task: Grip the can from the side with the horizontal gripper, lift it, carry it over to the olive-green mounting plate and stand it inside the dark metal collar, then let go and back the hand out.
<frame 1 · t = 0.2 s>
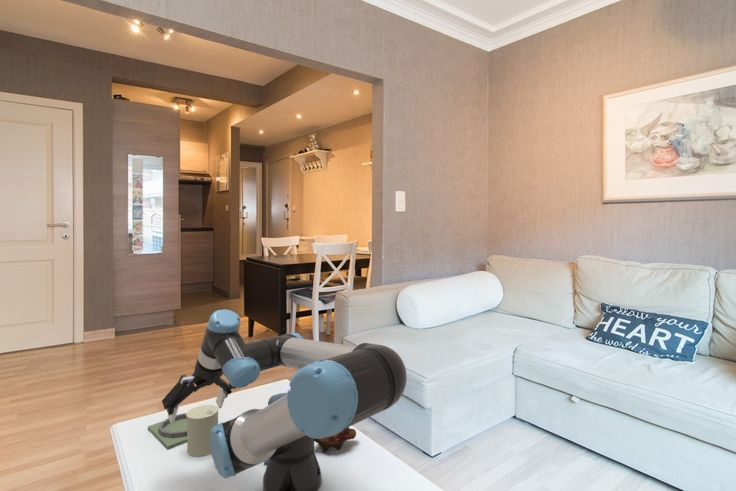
hand: (195, 412, 116), 15 cm above the table, tool tilted 35°, fingers open, 13 cm apart
decorative turtle: (332, 447, 124), on the table
can: (203, 448, 123), on the table
deck mount: (182, 429, 135), on the table
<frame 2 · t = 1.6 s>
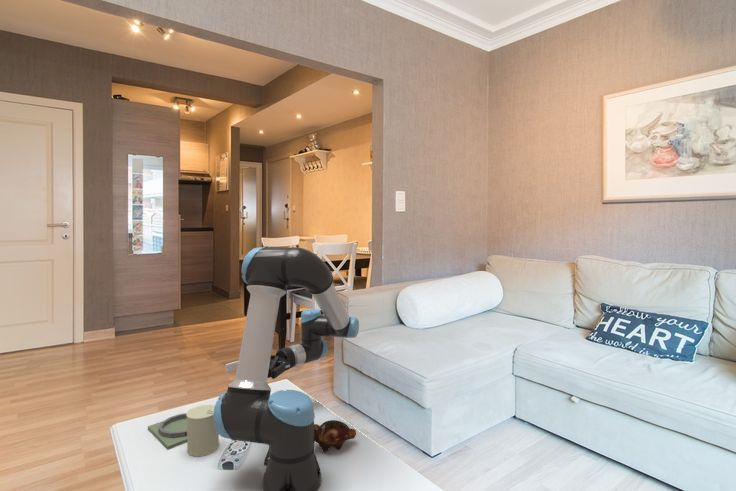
hand: (236, 373, 130), 20 cm above the table, tool horizontal, fingers open, 13 cm apart
nothing on the table moved.
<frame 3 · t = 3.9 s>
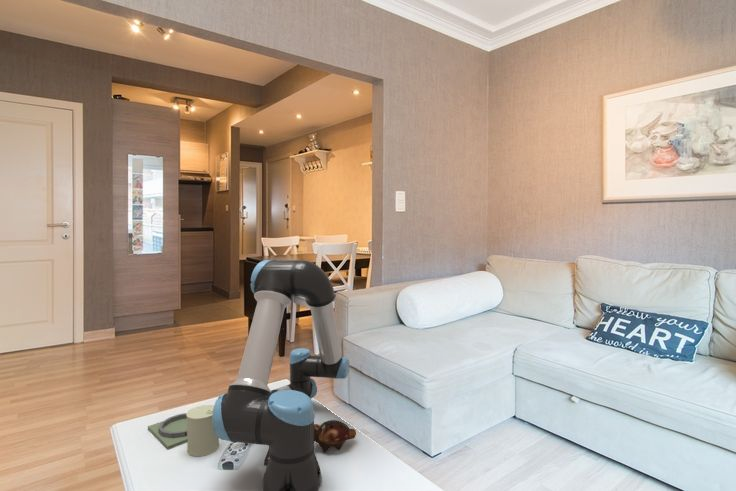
hand: (220, 420, 128), 6 cm above the table, tool horizontal, fingers open, 13 cm apart
nothing on the table moved.
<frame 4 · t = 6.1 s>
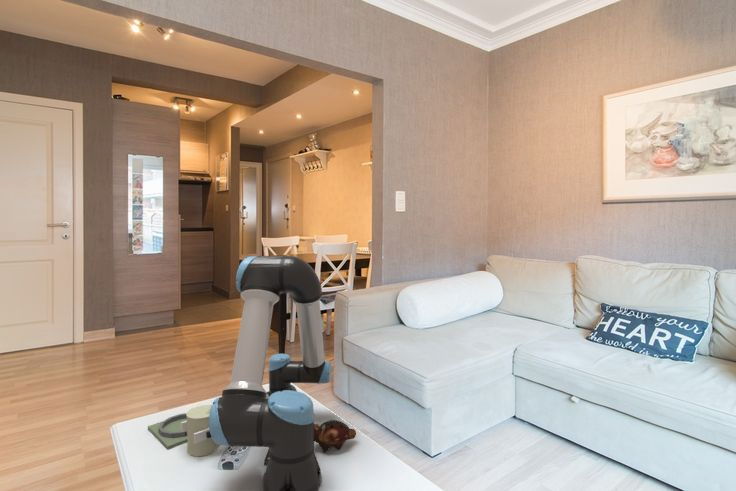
hand: (187, 432, 120), 7 cm above the table, tool horizontal, fingers closed on can, 9 cm apart
can: (203, 448, 123), on the table, touching gripper
everything else where it was.
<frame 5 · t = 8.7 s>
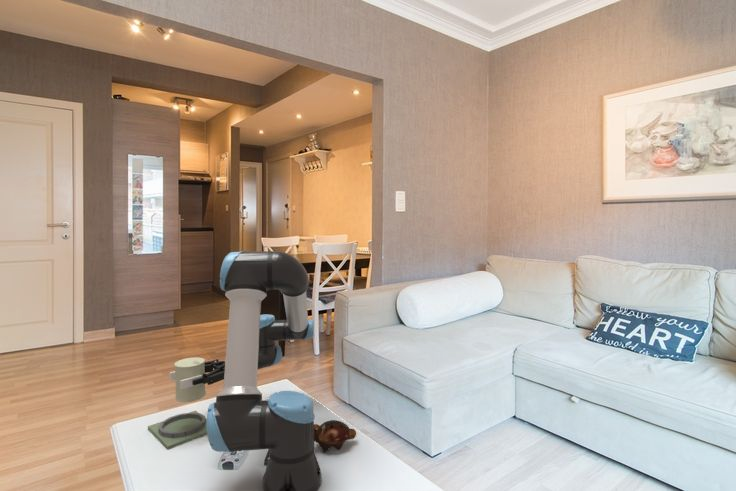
hand: (175, 380, 129), 19 cm above the table, tool horizontal, fingers closed on can, 9 cm apart
can: (190, 396, 132), point 12 cm above the table, touching gripper
everything else where it was.
when the fingers open (9 cm above the table, at t = 11.6 s): can drops 1 cm, resting on deck mount.
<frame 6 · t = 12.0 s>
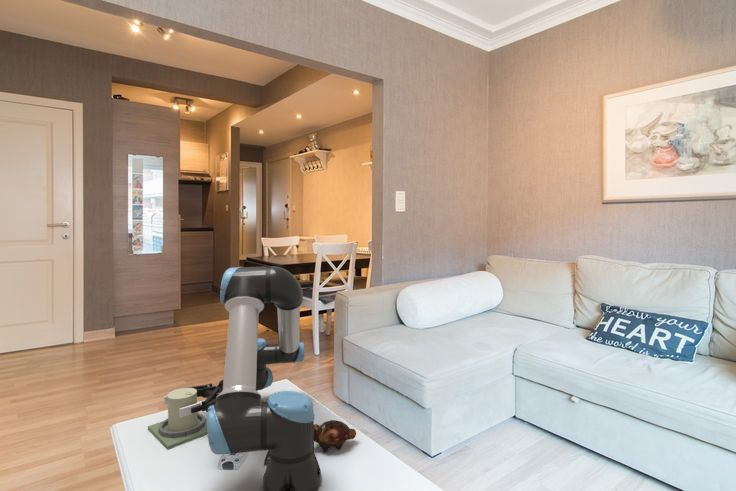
hand: (171, 406, 132), 9 cm above the table, tool horizontal, fingers open, 13 cm apart
can: (183, 427, 135), point 1 cm above the table, touching deck mount
everything else where it was.
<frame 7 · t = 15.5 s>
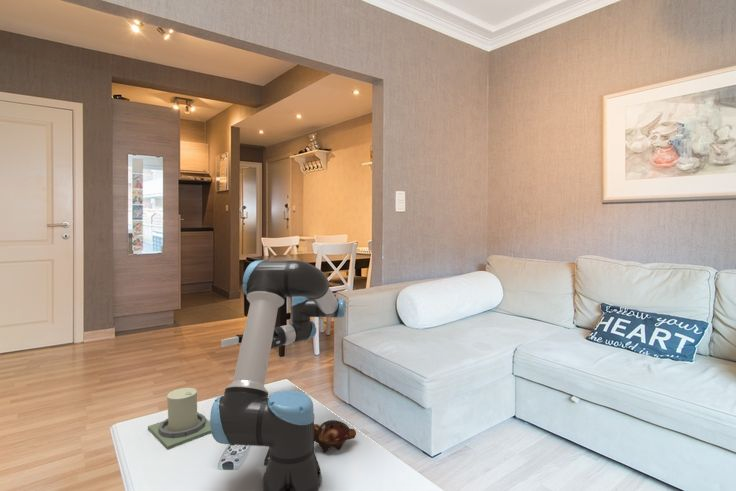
hand: (230, 347, 143), 25 cm above the table, tool horizontal, fingers open, 13 cm apart
nothing on the table moved.
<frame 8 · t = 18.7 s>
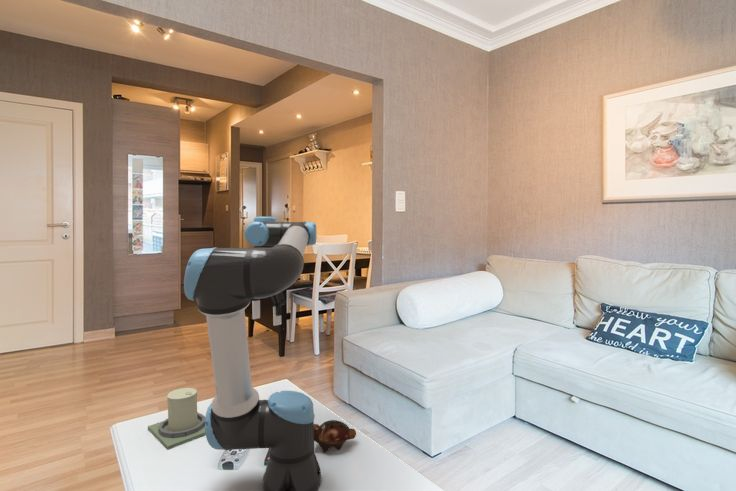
hand: (266, 321, 140), 35 cm above the table, tool pointing down, fingers open, 13 cm apart
nothing on the table moved.
at the end: can 0.1 cm off-centre on the deck mount, point 0.8 cm above the deck mount's base; can tilted 0°; the gripper is holding nothing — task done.
